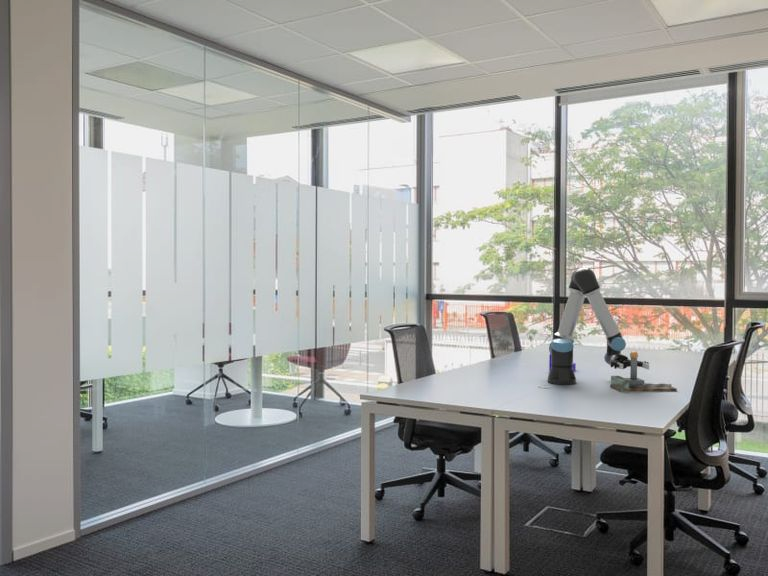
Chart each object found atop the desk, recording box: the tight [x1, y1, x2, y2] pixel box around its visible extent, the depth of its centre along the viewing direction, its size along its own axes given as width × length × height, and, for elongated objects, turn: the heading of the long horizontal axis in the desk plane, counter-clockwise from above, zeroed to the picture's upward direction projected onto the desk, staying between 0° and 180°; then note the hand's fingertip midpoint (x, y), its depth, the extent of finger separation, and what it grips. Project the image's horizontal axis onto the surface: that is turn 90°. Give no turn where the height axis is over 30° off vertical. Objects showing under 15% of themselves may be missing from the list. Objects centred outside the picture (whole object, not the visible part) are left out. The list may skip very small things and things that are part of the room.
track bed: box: [609, 375, 678, 393], centre depth 354 cm, size 30×14×6 cm, turn 92°
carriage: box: [624, 351, 645, 386], centre depth 354 cm, size 8×8×18 cm
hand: (635, 366), depth 352 cm, fingers open, 13 cm apart
